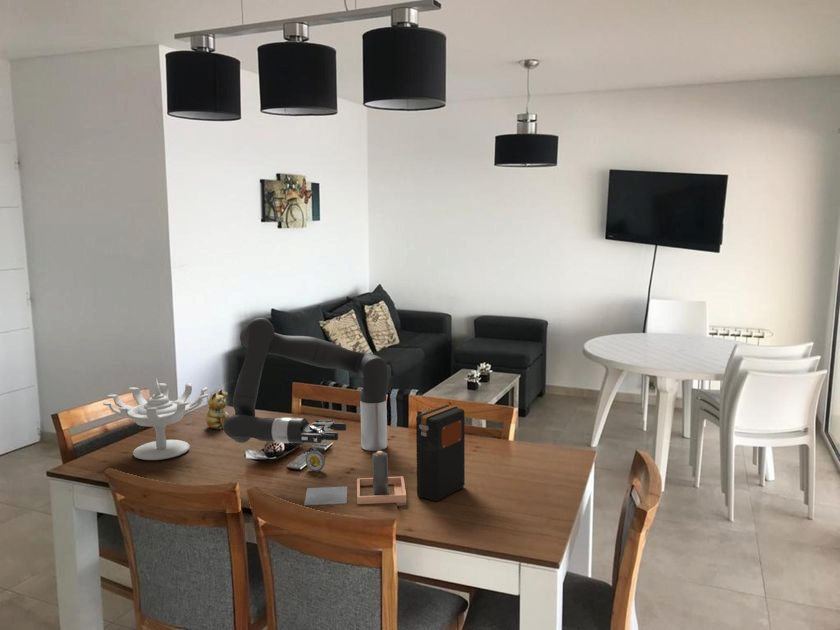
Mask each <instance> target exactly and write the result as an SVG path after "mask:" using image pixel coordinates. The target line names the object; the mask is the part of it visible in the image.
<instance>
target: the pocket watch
mask: <svg viewBox="0 0 840 630" xmlns="http://www.w3.org/2000/svg"><path fill="white" fill-rule="evenodd" d="M313 445H314V443H311V446H310V448H312V449H313V450H312V451H309V452H308V453H307V454H306V456H305V464H306V466H307V468H308V469H309V470H310V471H311V472H318V473H320V471H321V470H323V468H324V467H325V465H326V459H325V457H324V455H323V454H322V453H321V452H320V451H318V450H317V449H319V447H320V446H319V443H315V445H316V446H317V447H316V446H315V445H314V446H313ZM306 472H309V471H306ZM301 475H302V473H301V474H300V475H299V477H301V478H302V476H301ZM320 475H322V473H320ZM316 478H318V476H317V477H315V479H316ZM303 479H307V478H305V477H303ZM311 479H312V480H313V479H314V477H313V478H311Z"/></svg>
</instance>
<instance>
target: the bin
mask: <svg viewBox="0 0 840 630" xmlns="http://www.w3.org/2000/svg"><path fill="white" fill-rule="evenodd" d="M388 485H393V490H394V494H387V495H374V494H373V495H361V486H363V487H365V486H373V477H360V478H356V504H357V505H370V504H371V505H372V504H391V503H395V505H396V506H407V491H406V485H405V480H404V476H402V475H401V476H388Z"/></svg>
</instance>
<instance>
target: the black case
mask: <svg viewBox="0 0 840 630" xmlns="http://www.w3.org/2000/svg"><path fill="white" fill-rule="evenodd" d="M415 421H416V422H415V423H416V424H415V425H416V426H415V427H416V428H415V431H416V435H415V436H416V437H415V439H416V496H417V497H418V498H424V499H428V500H430V501H433V502H438V501H440V500H442V499H443V498H445V497H447V496H449V495H450V494H453V493H455V492H457V491H458V490H461V488H464V487H465V483H466V482H465V474H466V473H465V465H466V464H465V462H466V461H465V458H466V457H465V454H466V453H465V452H466V451H465V450H466V449H465V443H466V442H465V441H466V440H465V410H464V409H463V408H459V407H458V406H456V405H449V404H446V405H442V406H439V407H437V408H434V409H431V410H428V411H426V412H424V413H421V414H418V415H416V419H415Z"/></svg>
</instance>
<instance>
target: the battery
mask: <svg viewBox="0 0 840 630" xmlns="http://www.w3.org/2000/svg"><path fill="white" fill-rule="evenodd" d="M371 456H372V478H373V485H372V490H373V491H372V492H373V493H372V494H373V495H389V484H388V477H389V470H388V469H389V467H388V466H389V465H388V462H389V459H388V453H387V452H385V451H382V450H378V451H376V452H374V453H372V455H371Z"/></svg>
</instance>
